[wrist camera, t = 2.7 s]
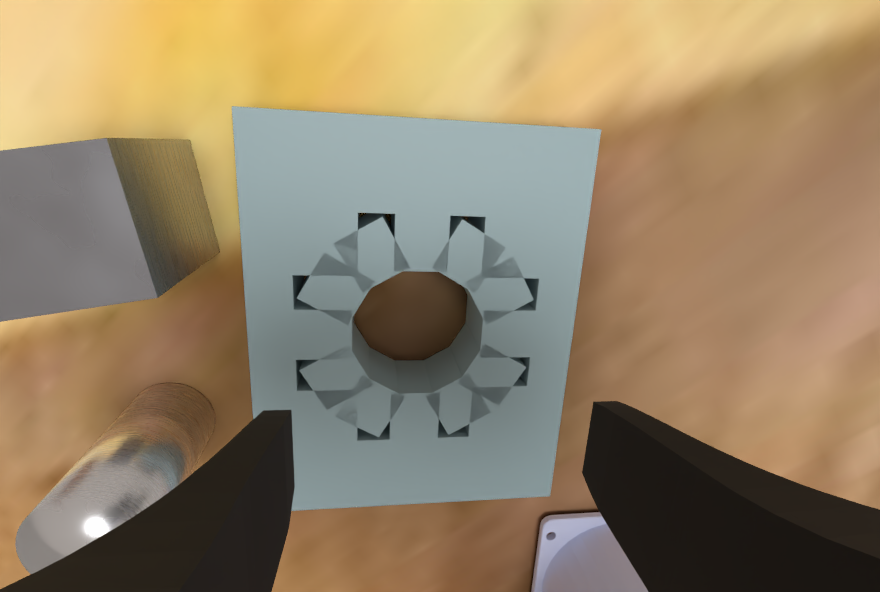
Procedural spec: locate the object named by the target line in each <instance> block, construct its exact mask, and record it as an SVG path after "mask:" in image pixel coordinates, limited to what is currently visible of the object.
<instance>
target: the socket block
mask: <svg viewBox="0 0 880 592" xmlns="http://www.w3.org/2000/svg"><path fill="white" fill-rule="evenodd" d="M232 117H233V132H234V146H235V161H236V176H237V190H238V205H239V219H240V234H241V249H242V263H243V278H244V293H245V307H246V322H247V336H248V351H249V366H250V380H251V395H252V409H253V419H254V418H256V417H257V416H258V415H259V414H260V413H261V412H262V411H263V410H291V411H292V434H293V458H294V482H295V488H294V495H293V502H292V509H291V511H296V510H314V509H332V508H350V507H367V506H385V505H403V504H421V503H438V502H456V501H474V500H492V499H509V498H527V497H545V496H550V492H551V485H552V478H553V471H554V464H555V457H556V449H557V442H558V435H559V428H560V421H561V414H562V407H563V399H564V392H565V385H566V378H567V371H568V364H569V356H570V349H571V342H572V335H573V328H574V321H575V314H576V306H577V299H578V292H579V285H580V278H581V271H582V264H583V256H584V249H585V242H586V235H587V228H588V221H589V213H590V206H591V199H592V192H593V185H594V178H595V171H596V163H597V156H598V149H599V142H600V135H601V129H586V128H570V127H554V126H538V125H522V124H506V123H490V122H474V121H458V120H442V119H426V118H410V117H394V116H378V115H362V114H346V113H330V112H314V111H298V110H282V109H266V108H250V107H234V106H232ZM359 213H367V214H365V215H363V216H361V217H359ZM385 214H391V225H390V223H389V221H388V219H387V217H386V216H385ZM461 216H468V221H467V220H466V219H464V218H463V217H461ZM402 271H420V272H440V273H442V274H443V275H445V276H447V277H448V278H450V279H452V280H453V281H455V282H457V283H458V284H460V285H462V286H463V287H464V289H465V291H466V293H467V308H466V322H465V324H464V326H463V327H462V329H461V330H460V332H459V333H458V335H457V336H456V338H455V339H454V341H453V342H452V344H451V345H450V347H448V348H446V349H444V350H442V351H440V352H438V353H436V354H434V355H433V356H431V357H429V358H427V359H425V360H393V359H391V358H389V357H387V356H385V355H383V354H381V353H380V352H378V351H376V350H374V349H372V348H370V347H369V346H368V344H367V343H366V341H365V339H364V338H363V336H362V335H361V333H360V331H359V330H358V328H357V327H356V325H355V323H354V314H355V313H356V311H357V309H358V308H359V306H360V304H361V303H362V301H363V300H364V298H365V296H366V295H367V293H368V292H369V290H370V288H372V287H374V286H376V285H378V284H380V283H382V282H383V281H385V280H387V279H389V278H391V277H393V276H395V275H397V274H398V273H400V272H402ZM304 275H307V277H306V279H305V281H304Z"/></svg>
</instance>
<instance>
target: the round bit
mask: <svg viewBox="0 0 880 592" xmlns="http://www.w3.org/2000/svg"><path fill="white" fill-rule="evenodd" d="M214 428H215V413H214V410H213V407H212V405H211V404H210V402H209V401H208V400H207V398H206V397H205V396H204V395H202V394H201V393H200V392H199V391H197V390H195V389H193V388H192V387H189V386H186V385H183V384H178V383H161V384H157V385H154V386H151V387H149V388H147V389H145V390H144V391H142V392H141V393H140V394H139V395H138V396H137V397H136V398H135V399H134V400H133V401H132V402H131V404H130V405H129V406H128V407H127V408H126V409H125V410H124V411H123V412H122V413H121V414H120V416H119V417H118V418H117V419H116V420H115V421H114V422H113V423H112V424H111V425H110V427H109V428H108V429H107V430H106V431H105V432H104V433H103V434H102V435H101V436H100V437H99V439H98V440H97V441H96V442H95V443H94V444H93V445H92V446H91V447H90V448H89V449H88V451H87V452H86V453H85V454H84V455H83V456H82V457H81V458H80V459H79V460H78V462H77V463H76V464H75V465H74V466H73V467H72V468H71V469H70V470H69V471H68V472H67V474H66V475H65V476H64V477H63V478H62V479H61V480H60V481H59V482H58V483H57V484H56V486H55V487H54V488H53V489H52V490H51V491H50V492H49V493H48V494H47V495H46V497H45V498H44V499H43V500H42V501H41V502H40V503H39V504H38V505H37V506H36V507H35V509H34V510H33V511H32V512H31V513H30V514H29V515H28V516H27V517H26V518H25V520H24V521H23V522H22V524H21V525H20V527H19V529H18V532H17V536H16V551H17V554H18V557H19V559H20V561H21V563H22V564H23V566H24V567H25V568H26V570H27V571H28V572H29V573H30V574H33V573H35V572H37V571H39V570H41V569H43V568H45V567H47V566H49V565H51V564H52V563H54V562H56V561H58V560H60V559H62V558H64V557H66V556H68V555H70V554H71V553H73V552H75V551H76V550H78V549H80V548H82V547H83V546H85V545H87V544H89V543H90V542H92V541H94V540H95V539H97V538H99V537H101V536H102V535H104V534H106V533H107V532H109V531H111V530H113V529H114V528H116V527H118V526H119V525H121V524H123V523H124V522H126V521H127V520H129V519H131V518H132V517H134V516H135V515H137V514H138V513H140V512H141V511H143V510H144V509H146V508H147V507H149V506H150V505H152V504H153V503H155V502H156V501H157V500H159V499H160V498H162V497H163V496H164V495H166V494H167V493H169V492H170V491H171V490H173V489H174V488H175V487H177V486H178V485H179V484H180V483H182V482H183V481H184V480H185V479H186V478H188V477H189V476H190V474H191V472H192V470H193V468H194V467H195V465H196V463H197V461H198V459H199V457H200V455H201V454H202V452H203V450H204V448H205V446H206V444H207V442H208V441H209V439H210V437H211V435H212V433H213V431H214Z"/></svg>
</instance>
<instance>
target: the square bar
mask: <svg viewBox="0 0 880 592" xmlns="http://www.w3.org/2000/svg"><path fill="white" fill-rule="evenodd" d="M219 252H220V251H219V247H218V243H217V240H216V236H215V232H214V228H213V225H212V221H211V217H210V213H209V210H208V206H207V202H206V199H205V195H204V191H203V187H202V184H201V180H200V176H199V172H198V169H197V165H196V161H195V158H194V154H193V150H192V146H191V143H190V140H174V139H125V138H103V139H95V140H87V141H78V142H70V143H61V144H53V145H45V146H36V147H28V148H19V149H11V150H3V151H0V322H1V321H8V320H14V319H21V318H27V317H34V316H41V315H47V314H54V313H60V312H67V311H74V310H80V309H87V308H93V307H100V306H107V305H113V304H120V303H126V302H133V301H140V300H146V299H153V298H158V297H159V296H161V295H162V294H163V293H165V292H166V291H167V290H169V289H170V288H172V287H173V286H174V285H176V284H177V283H178V282H180V281H181V280H182V279H184V278H185V277H186V276H188V275H189V274H191V273H192V272H193V271H195V270H196V269H197V268H199V267H200V266H201V265H203V264H204V263H205V262H207V261H208V260H210V259H211V258H212V257H214V256H215V255H216V254H218V253H219Z"/></svg>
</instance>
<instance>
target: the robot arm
mask: <svg viewBox="0 0 880 592" xmlns="http://www.w3.org/2000/svg"><path fill="white" fill-rule="evenodd" d="M582 473H583V476H584V478H585V481H586V483H587V485H588V488H589V490H590V493H591V495H592V497H593V499H594V501H595V503H596V506H597V508H598V510H599V512H593V513H577V514H561V515H549V516H546V517H545V518H543V520H542V521H541V524H540V531H539V538H538V545H537V553H536V560H535V568H534V575H533V582H532V590H531V592H880V510H879V509H875V508H872V507H868V506H865V505H862V504H858V503H855V502H852V501H849V500H846V499H843V498H840V497H837V496H833V495H830V494H827V493H824V492H821V491H818V490H815V489H812V488H810V487H807V486H804V485H801V484H798V483H796V482H793V481H791V480H788V479H786V478H783V477H780V476H778V475H775V474H773V473H770V472H767V471H765V470H762V469H760V468H758V467H755V466H753V465H751V464H748V463H746V462H744V461H742V460H739V459H737V458H735V457H733V456H731V455H728V454H726V453H724V452H722V451H720V450H717V449H715V448H713V447H711V446H709V445H707V444H705V443H703V442H701V441H699V440H697V439H695V438H693V437H691V436H689V435H687V434H685V433H683V432H681V431H679V430H677V429H675V428H673V427H671V426H669V425H667V424H665V423H663V422H661V421H659V420H657V419H655V418H653V417H651V416H649V415H647V414H645V413H643V412H641V411H639V410H637V409H635V408H633V407H630V406H628V405H626V404H623V403H620V402H618V401H608V402H594V403H593V409H592V415H591V421H590V428H589V434H588V440H587V446H586V453H585V459H584V465H583V471H582ZM294 488H295V482H294V458H293V434H292V411H291V410H263V411H262V412H261V413H260V414H259V415H258V416H257V417H256V418H254V419H253V420H252V421H251V422H250V423H249V424H248V425H247V426H246V427H245V428H244V429H243V430H242V431H241V432H239V433H238V434H237V435H236V436H235V437H234V438H233V439H232V440H231V441H230V442H229V443H228V444H227V445H225V446H224V447H223V448H222V449H221V450H220V451H219V452H218V453H217V454H215V455H214V456H213V457H212V458H211V459H210V460H209V461H207V462H206V463H205V464H204V465H203V466H201V467H200V468H199V469H198V470H196V471H195V472H194V473H193V474H191V475H190V476H189V477H188V478H186V479H185V480H184V481H183V482H182V483H180V484H179V485H178V486H177V487H175V488H174V489H173V490H171V491H170V492H169V493H167V494H166V495H164V496H163V497H162V498H160V499H159V500H157V501H156V502H155V503H153V504H152V505H150V506H149V507H147V508H146V509H144V510H143V511H141V512H140V513H138V514H137V515H135V516H134V517H132V518H131V519H129V520H127V521H126V522H124V523H123V524H121V525H119V526H118V527H116V528H114V529H113V530H111V531H109V532H107V533H106V534H104V535H102V536H101V537H99V538H97V539H95V540H94V541H92V542H90V543H89V544H87V545H85V546H83V547H82V548H80V549H78V550H76V551H75V552H73V553H71V554H70V555H68V556H66V557H64V558H62V559H60V560H58V561H56V562H54V563H52V564H51V565H49V566H47V567H45V568H43V569H41V570H39V571H37V572H35V573H33V574H31V575H29V576H27V577H25V578H23V579H21V580H19V581H17V582H15V583H13V584H10V585H8V586H6V587H4V588H2V589H0V592H271V591H272V587H273V584H274V580H275V577H276V573H277V569H278V566H279V562H280V558H281V555H282V551H283V547H284V544H285V540H286V536H287V533H288V529H289V522H290V516H291V509H292V502H293V495H294ZM550 532H552V533H551V534H548V533H550ZM547 534H548V535H547Z"/></svg>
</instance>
